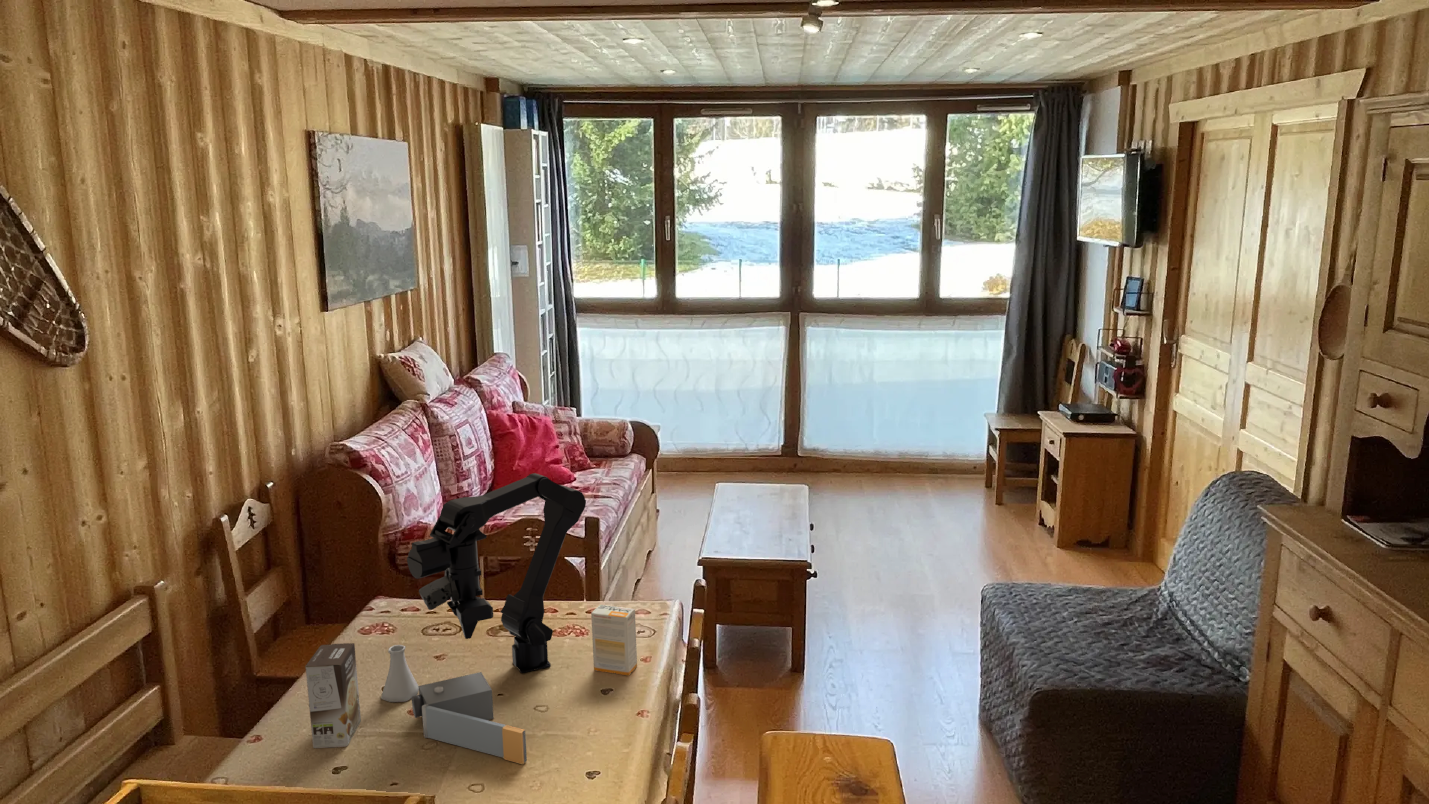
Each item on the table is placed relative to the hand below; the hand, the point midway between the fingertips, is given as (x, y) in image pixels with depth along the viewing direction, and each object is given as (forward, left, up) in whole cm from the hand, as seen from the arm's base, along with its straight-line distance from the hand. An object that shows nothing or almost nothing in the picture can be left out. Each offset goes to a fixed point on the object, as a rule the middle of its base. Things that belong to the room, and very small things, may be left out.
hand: (467, 638), depth 198 cm
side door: (+5, +22, -11) cm, 26 cm away
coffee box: (+26, +6, -11) cm, 29 cm away
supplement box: (-29, +6, -11) cm, 32 cm away
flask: (+13, -4, -11) cm, 18 cm away
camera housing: (+5, +10, -11) cm, 15 cm away
